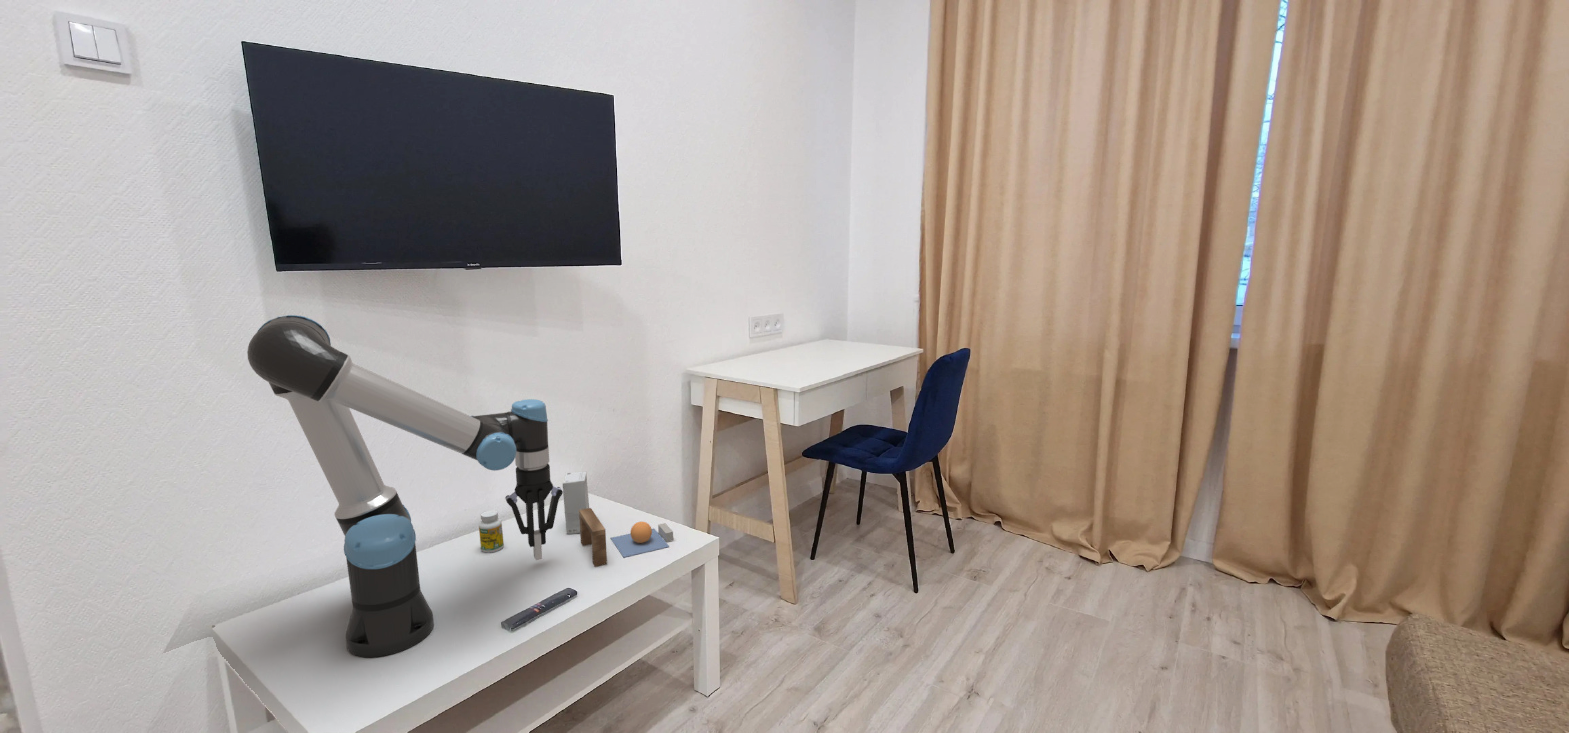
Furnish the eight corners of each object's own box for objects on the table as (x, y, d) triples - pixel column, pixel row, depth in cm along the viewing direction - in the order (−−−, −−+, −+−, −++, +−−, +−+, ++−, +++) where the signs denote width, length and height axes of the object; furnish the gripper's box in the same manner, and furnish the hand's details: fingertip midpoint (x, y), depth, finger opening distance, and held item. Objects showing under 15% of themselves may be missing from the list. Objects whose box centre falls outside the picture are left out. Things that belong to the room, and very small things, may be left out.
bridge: (594, 567, 160) (592, 531, 158) (580, 542, 172) (579, 510, 170) (607, 564, 161) (605, 529, 159) (592, 540, 174) (590, 507, 172)
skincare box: (588, 533, 178) (585, 481, 175) (565, 535, 176) (562, 482, 173) (590, 520, 186) (587, 470, 183) (567, 521, 184) (565, 471, 181)
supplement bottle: (506, 543, 172) (503, 508, 170) (500, 552, 166) (497, 517, 164) (484, 544, 171) (481, 509, 169) (478, 553, 166) (474, 518, 164)
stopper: (666, 542, 173) (665, 533, 172) (658, 533, 178) (658, 524, 178) (673, 540, 174) (673, 531, 173) (665, 531, 179) (665, 523, 179)
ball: (659, 533, 172) (645, 550, 171) (652, 525, 177) (638, 541, 176) (644, 522, 169) (629, 539, 168) (637, 514, 174) (623, 531, 173)
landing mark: (623, 557, 164) (623, 557, 164) (610, 538, 175) (610, 537, 175) (669, 547, 170) (669, 546, 170) (654, 529, 181) (654, 528, 180)
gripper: (558, 456, 161) (562, 545, 166) (500, 464, 155) (507, 556, 160) (564, 465, 155) (568, 558, 160) (505, 474, 149) (511, 570, 153)
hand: (538, 557), depth 160 cm, fingers closed
